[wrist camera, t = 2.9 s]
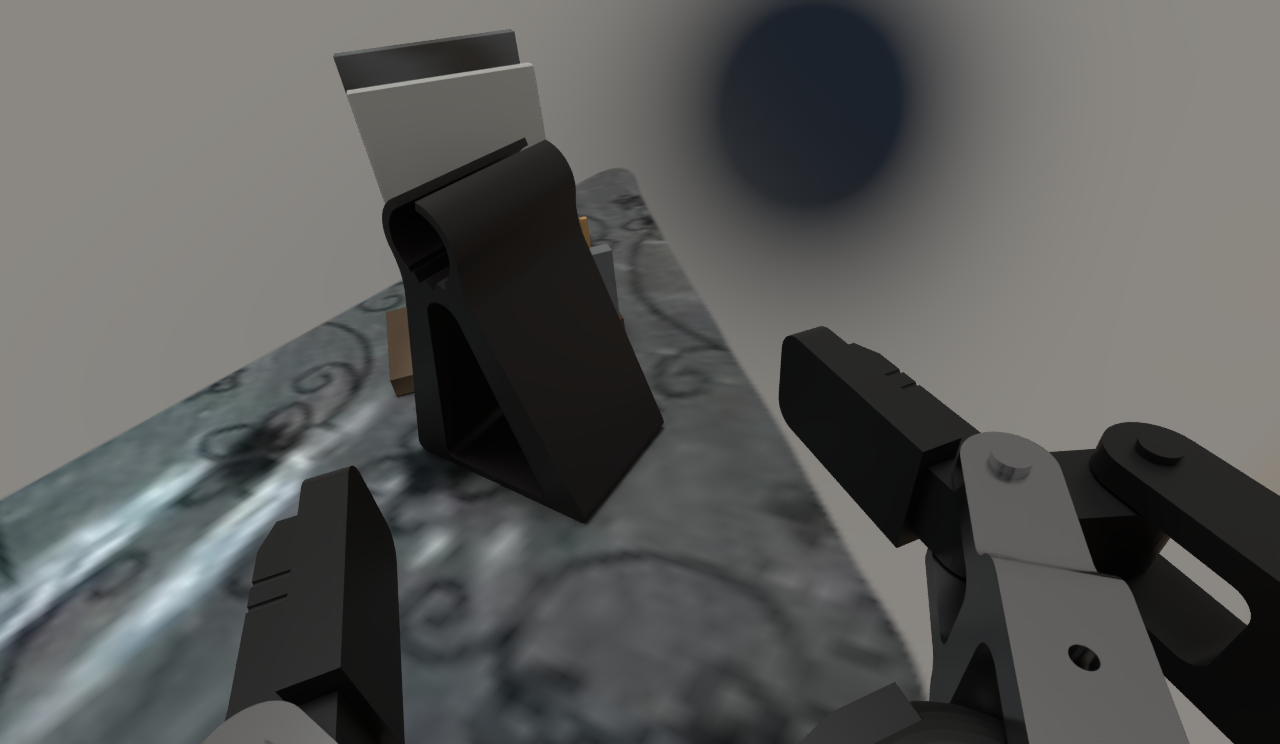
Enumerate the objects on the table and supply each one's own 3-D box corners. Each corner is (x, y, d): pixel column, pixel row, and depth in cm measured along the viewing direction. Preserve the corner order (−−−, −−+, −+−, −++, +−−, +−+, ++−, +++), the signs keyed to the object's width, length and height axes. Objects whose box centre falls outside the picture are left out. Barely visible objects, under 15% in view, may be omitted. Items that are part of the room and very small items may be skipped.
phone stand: (421, 448, 26) (308, 181, 19) (511, 372, 30) (446, 127, 23) (585, 526, 22) (521, 224, 15) (665, 428, 26) (645, 150, 19)
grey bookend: (396, 396, 29) (266, 90, 21) (391, 326, 35) (286, 60, 26) (625, 333, 32) (592, 42, 24) (588, 278, 37) (550, 23, 29)
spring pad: (440, 360, 29) (346, 94, 22) (438, 351, 30) (346, 90, 22) (619, 312, 31) (589, 56, 24) (614, 305, 32) (583, 54, 24)
